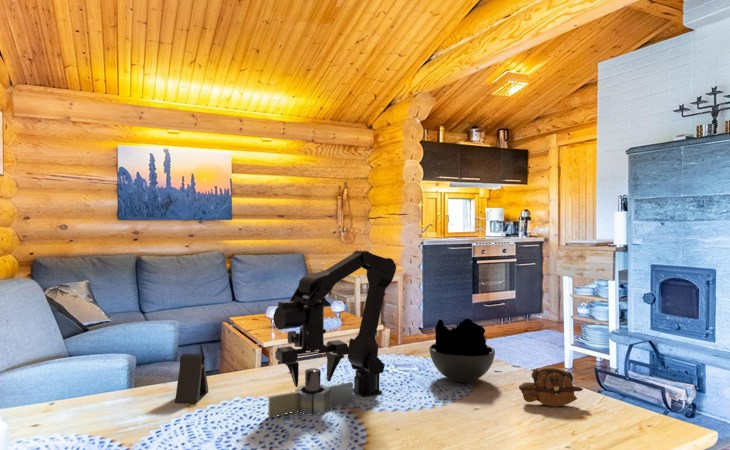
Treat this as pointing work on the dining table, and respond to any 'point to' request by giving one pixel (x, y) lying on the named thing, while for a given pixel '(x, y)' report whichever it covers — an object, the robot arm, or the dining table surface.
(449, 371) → the coal bowl
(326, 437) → the dining table surface
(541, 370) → the wooden carving
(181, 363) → the phone stand
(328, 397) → the hinge
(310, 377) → the hinge pin
